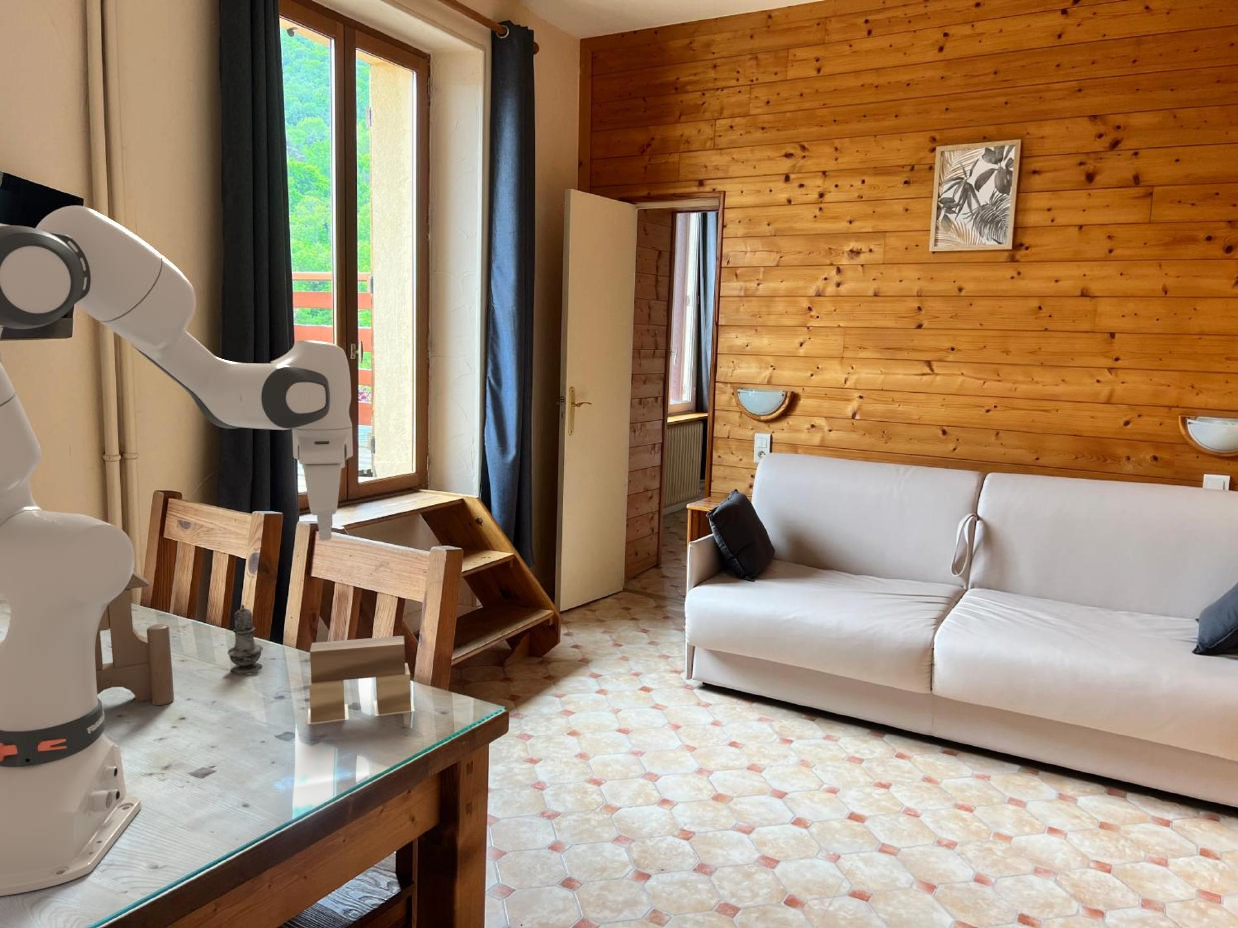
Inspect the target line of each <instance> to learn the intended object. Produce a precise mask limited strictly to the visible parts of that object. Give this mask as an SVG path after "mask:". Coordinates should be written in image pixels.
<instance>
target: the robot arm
mask: <svg viewBox="0 0 1238 928" xmlns="http://www.w3.org/2000/svg"><path fill="white" fill-rule="evenodd" d="M196 298H197V297H196V293H195V289H194V286H193V285H192V283H191V282H190V281H189V279H188V278H187V277H186V276H185V275H184V274H183V272H182V271H180V270H179V269H178V267H177V266H176V265H174V264H173V263H172V262H171V261H169V260H168V258H166V257H165V256H164V255H162V254H161V253H160V252H158V251H157V250H156V249H154V247H152V246H151V245H150V244H149V243H147V242H146V241H144V240H143V239H142V238H140V237H139V236H138V235H136V234H134V233H133V232H132V231H130V230H128V229H127V228H126V227H124V226H122V225H121V224H120V223H117V222H116V221H114V220H113V219H111V218H109V217H108V216H106V215H103V214H102V213H100V212H98V211H96V210H94V209H93V208H90V207H87V206H83V205H69V206H63V207H60V208H58V209H55V210H53V211H52V212H50V213H49V214H47V215H46V216H45V217H44V218H42V219H41V220H40V222H39V223H38V224H37V225H36V227H35V228H34V227H30V226H24V225H16V224H15V225H10V224H6V223H5V224H4V223H0V338H1V336H2V332H3V329H4V327H5V328H9V329H15V330H27V329H35V328H36V329H37V328H40V327H44V326H46V325H49V324H52V323H53V322H56V321H58V320H59V319H60V318H62V317H63V316H65V315H66V314H67V313H68V312H69V311H71V309H72V308H73V307H74V306H77V307H78V308H80V309H81V310H83V312H85V313H86V314H88V315H89V316H91V317H92V318H93V319H94V320H96V321H98V322H99V323H101V324H102V325H104V327H106V328H108V329H109V330H111V331H112V332H113V333H115V334H117V336H119V337H121V338H122V339H124V340H125V341H127V342H128V343H129V344H130V345H131V346H132V347H133V348H134V349H135V350H136V351H138V352H139V353H140V354H141V355H142V356H144V357H145V358H146V360H148V361H149V362H151V363H152V364H153V365H154V366H156V367H157V368H158V369H159V370H161V371H162V372H163V373H164V374H165V375H167V376H168V377H169V378H171V379H172V380H173V381H174V382H176V383H177V384H178V385H180V386H181V387H182V388H183V389H184V390H185V391H186V392H187V393H188V394H189V395H190V396H191V398H192V399H193V401H194V402H195V404H196V405H197V407H198V408H199V410H200V412H201V413H202V414H203V416H204V417H205V418H206V419H207V420H208V421H209V422H211V423H212V424H213V425H215V426H216V427H219V428H223V429H245V428H248V429H259V430H278V431H279V430H281V431H286V430H291V429H292V430H291V433H292V452H293V453H292V456H293V457H292V458H294V459H296V460H298V463H299V464H300V465H301V466H302V469H303V472H304V473H303V475H304V478H305V479H304V480H305V487H306V494H307V499H308V501H307V502H308V506H309V511H310V514H311V515H312V516H316V520H317V527H318V539H319V540H320V541H323V542H324V541H331V539H332V527H333V515H336V513H337V510H338V505H339V494H340V493H339V492H340V483H341V482H340V481H341V474H342V473H341V471H342V469H343V468H345V467H346V463H345V462H346V461H347V460H348V459H350V458H352V457H354V449H353V447H354V445H353V424H352V420H351V417H350V405H351V402H352V401H351V400H352V387H351V386H352V384H351V383H352V382H351V373H350V365H349V362H348V358H347V355H346V352H345V350H344V349H343V348H342V347H340V346H339V345H337V344H334V343H331V342H326V341H317V340H309V339H308V340H307V339H305V340H297V341H296V342H294V343H293V346H292V348H291V349H290V350H289V351H288V352H287V353H286V354H283V355H282V356H280V357H279V358H275V360H274V359H273V360H271V361H270V363H253V362H252V363H249V362H248V363H246V362H236V361H230V360H226V359H222V358H220V357H217V356H216V355H214V354H213V353H212V351H210V350H209V349H207V347H205V346H204V345H203V344H202V343H200V341H198V340H197V339H196V338H195V337H194V336H193V335H192V334H191V333H189V331H188V330H187V329H188V328H189V326H190V324H191V322H192V320H193V319H194V315H195V312H196V305H197V302H196V301H197V299H196ZM2 363H3V359H2V355H1V353H0V601H2V602H7V603H8V605H9V608H10V609H9V610H10V614H9V615H10V616H9V617H10V618H9V623H8V628H7V632H6V635H5V638H4V639H3V640H2V641H0V897H2V896H8V895H15V894H22V893H28V892H32V891H37V890H41V889H46V888H51V887H54V886H57V885H60V884H64V883H68V882H70V881H73V880H76V879H78V878H81V877H83V876H85V875H87V874H90V873H91V872H92V871H93V870H94V869H95V868H96V866H97V865H99V863H100V861H101V860H102V859H103V858H104V856H106V853H108V851H109V850H110V848H112V846H113V845H114V843H115V842H116V840H117V839H118V838H119V837H120V836H121V834H122V833H123V832H124V830H125V829H126V828H127V827H128V826H129V824H130V823H131V822H132V821H133V819H134V818H135V816H136V815H138V812H139V811H140V810H141V808H142V803H141V799H140V798H139V797H137V796H133V795H129V794H127V789H126V783H125V776H124V767H123V761H122V756H121V754H122V753H121V748H120V746H119V745H117V744H116V743H115V742H113V741H112V740H110V739H109V738H108V737H107V735H106V734H105V733H104V730H105V728H106V726H105V718H106V717H105V710H104V708H103V702H102V700H101V699H100V698H98V695H97V683H96V664H95V642H96V635H97V630H98V627H99V623H100V620H101V617H102V615H103V613H104V611H105V609H106V607H107V606H108V604H109V603H110V602H111V601H112V600H113V599H114V598H116V597H117V596H118V595H119V594H120V593H121V592H122V591H123V590H124V589H125V587H126V586H127V584H128V582H129V580H130V578H131V576H132V573H133V571H135V570H134V569H135V564H136V563H135V562H136V561H135V560H136V559H135V557H136V556H135V555H136V554H135V549H134V546H133V542H132V540H131V539H130V537H129V535H128V534H127V533H126V532H125V531H124V530H123V529H121V528H120V527H118V526H116V525H114V524H113V523H108V522H106V521H104V520H101V519H98V518H95V517H92V516H89V515H86V514H82V513H72V512H60V511H48V510H43V509H42V508H41V507H40V506H39V505H38V504H37V502H36V501H35V500H34V497H33V494H32V490H31V489H32V488H31V480H30V479H31V478H30V477H31V475H32V474H34V472H35V471H36V469H37V468H38V467H39V465H40V464H41V460H42V453H43V452H42V448H41V445H40V443H39V441H38V438H37V436H36V433H35V432H34V429H33V428H32V424H31V422H30V420H29V418H28V415H27V414H26V411H25V409H24V407H23V404H22V402H21V400H20V398H19V395H18V394H17V392H16V390H15V388H14V385H13V383H12V381H11V379H10V377H9V375H8V373H7V372H6V369H5V367H4V366H3V364H2Z"/></svg>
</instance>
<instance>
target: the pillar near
mask: <svg viewBox="0 0 1238 928" xmlns="http://www.w3.org/2000/svg"><path fill="white" fill-rule="evenodd" d="M344 681H345V680H339V681H328V682H317V683H311V672H310V673H309V681H308V684H309V685H308V689H309V691H308V692H309V707H310V708H309V709H310V712H311V723H313V722H321V721H329V720H337V719H345V704H346V703H345V686H344V685H345V684H344V683H345V682H344Z"/></svg>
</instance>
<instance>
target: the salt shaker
mask: <svg viewBox="0 0 1238 928" xmlns="http://www.w3.org/2000/svg"><path fill="white" fill-rule="evenodd" d="M245 607H246V605H244V604H243V603H242V604H241V606H240V609H238V610H237V611H236V612H235V613H234V629H232V632H233V633H234V636H235V637H234V638H235V644H234V646H233V647H231V648H229V649H228V651H227V655H228V656H229V659H230V661H231V662H232V663H233V664H234V666H232V667H231V669H230V673H231V674H233V675H241V676H242V675H249V674H255V673H256V672H258V671H261V670H262V669H263V665H262V664H260V663H259V662H258V661H259V660H260V659H261V656H262V652H263V649H264V647H263V646H262V645H260V644H257V643H256V641H255V639H254V638H255V637H254V636H255V635H254V630H256V627H255V626H254V625H253V613H252V612H253V611H252V610H250V609H248V608H245Z"/></svg>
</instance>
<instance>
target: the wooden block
mask: <svg viewBox="0 0 1238 928" xmlns="http://www.w3.org/2000/svg"><path fill="white" fill-rule="evenodd" d="M309 650H310V651H309V659H310V661H309V662H310V673H311V683H317V682H328V681H339V680H344V681H348V680H350V681H351V680H361V679H369V678H370V679H373V678H376V677H384V676H396V675H405V663H406V658H405V657H406V656H405V655H406V654H405V636H404V635H396V636H382V637H371V638H358V639H357V638H356V639H347V640H345V639H344V640H332V641H320V642H319V641H318V642H311V646H310V649H309Z"/></svg>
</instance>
